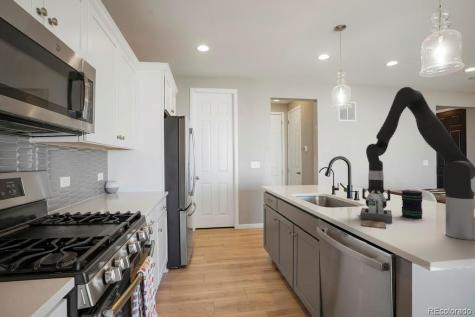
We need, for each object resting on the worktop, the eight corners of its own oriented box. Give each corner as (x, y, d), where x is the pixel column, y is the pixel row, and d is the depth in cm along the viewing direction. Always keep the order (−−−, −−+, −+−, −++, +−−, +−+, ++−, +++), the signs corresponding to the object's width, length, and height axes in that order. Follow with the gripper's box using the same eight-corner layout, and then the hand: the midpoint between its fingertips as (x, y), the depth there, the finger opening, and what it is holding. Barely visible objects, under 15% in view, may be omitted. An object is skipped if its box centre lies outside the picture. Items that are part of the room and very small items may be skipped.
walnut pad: (385, 223, 127) (385, 222, 127) (386, 228, 117) (386, 227, 117) (362, 220, 132) (362, 219, 132) (360, 225, 123) (360, 224, 123)
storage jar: (415, 215, 144) (415, 190, 144) (426, 219, 135) (426, 192, 135) (398, 214, 145) (397, 190, 145) (407, 219, 136) (407, 192, 136)
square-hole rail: (391, 217, 140) (390, 210, 140) (392, 223, 127) (392, 215, 127) (362, 214, 147) (362, 207, 147) (360, 219, 135) (360, 212, 135)
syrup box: (367, 217, 139) (367, 192, 139) (374, 216, 141) (374, 192, 141) (377, 220, 133) (377, 194, 133) (384, 219, 136) (384, 193, 136)
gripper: (361, 178, 138) (361, 207, 138) (390, 179, 130) (391, 209, 130) (362, 177, 144) (362, 204, 144) (390, 178, 137) (390, 207, 137)
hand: (376, 207), depth 137 cm, fingers closed on syrup box, 7 cm apart
